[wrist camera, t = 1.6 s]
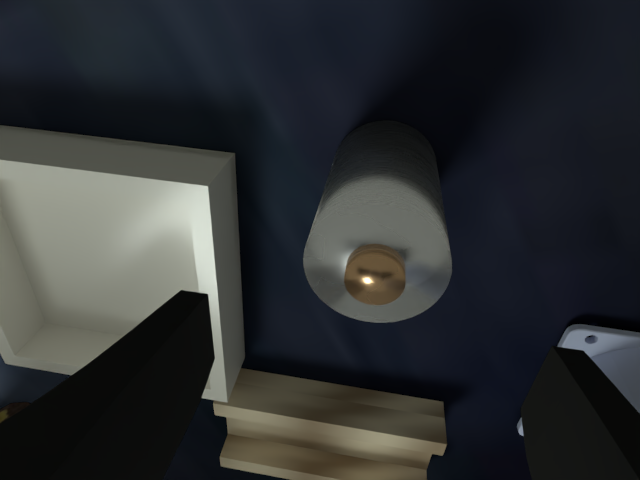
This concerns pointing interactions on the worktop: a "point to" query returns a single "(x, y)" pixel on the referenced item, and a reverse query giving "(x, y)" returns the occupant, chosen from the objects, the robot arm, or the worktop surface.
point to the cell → (380, 227)
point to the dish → (113, 246)
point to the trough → (327, 430)
